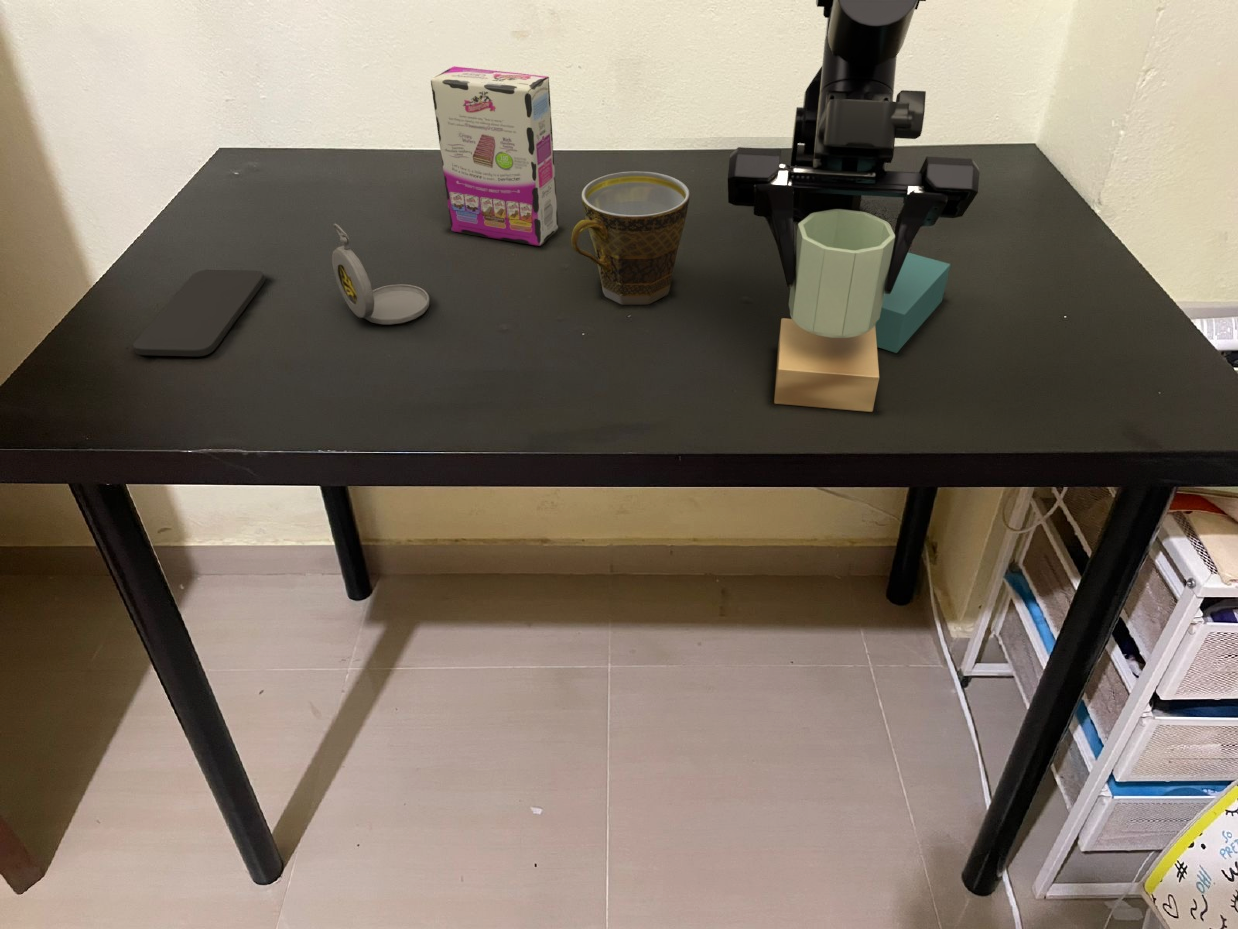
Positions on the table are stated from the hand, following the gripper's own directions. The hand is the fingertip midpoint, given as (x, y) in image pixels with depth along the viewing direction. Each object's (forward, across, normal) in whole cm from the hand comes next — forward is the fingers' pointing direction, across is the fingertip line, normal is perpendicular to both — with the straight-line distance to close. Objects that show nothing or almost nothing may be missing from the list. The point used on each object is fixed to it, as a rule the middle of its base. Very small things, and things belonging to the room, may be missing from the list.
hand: (838, 289), depth 73 cm
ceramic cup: (-2, -19, +16) cm, 25 cm away
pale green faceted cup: (+1, 0, +3) cm, 3 cm away
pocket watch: (+2, -41, +12) cm, 43 cm away
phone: (+4, -58, +9) cm, 59 cm away
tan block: (+6, 0, +8) cm, 10 cm away
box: (-3, +5, +16) cm, 17 cm away
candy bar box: (-11, -34, +25) cm, 44 cm away
